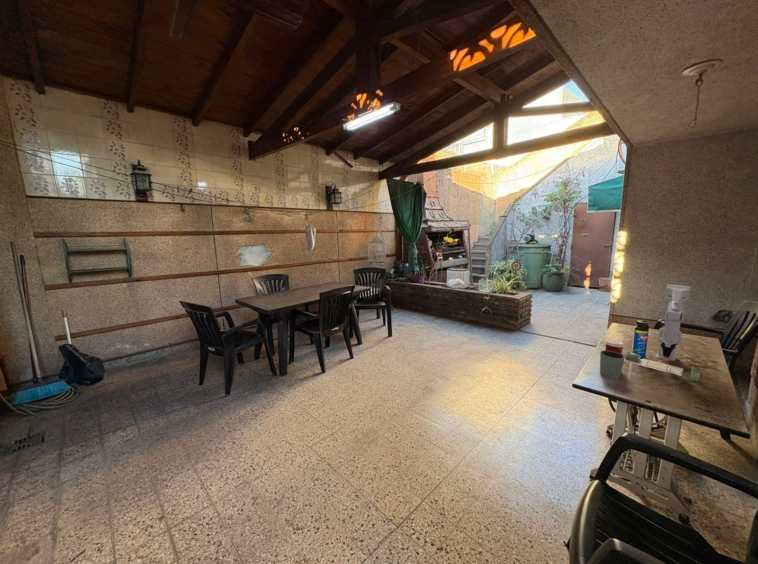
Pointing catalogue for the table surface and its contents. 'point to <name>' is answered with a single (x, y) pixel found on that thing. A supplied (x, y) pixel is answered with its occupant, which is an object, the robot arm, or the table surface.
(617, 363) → the green round bin
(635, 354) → the button
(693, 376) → the sage marker
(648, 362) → the white flat panel
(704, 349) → the table surface
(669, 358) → the brown rounded cylinder
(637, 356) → the button housing
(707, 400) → the table surface
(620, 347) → the coffee cup
